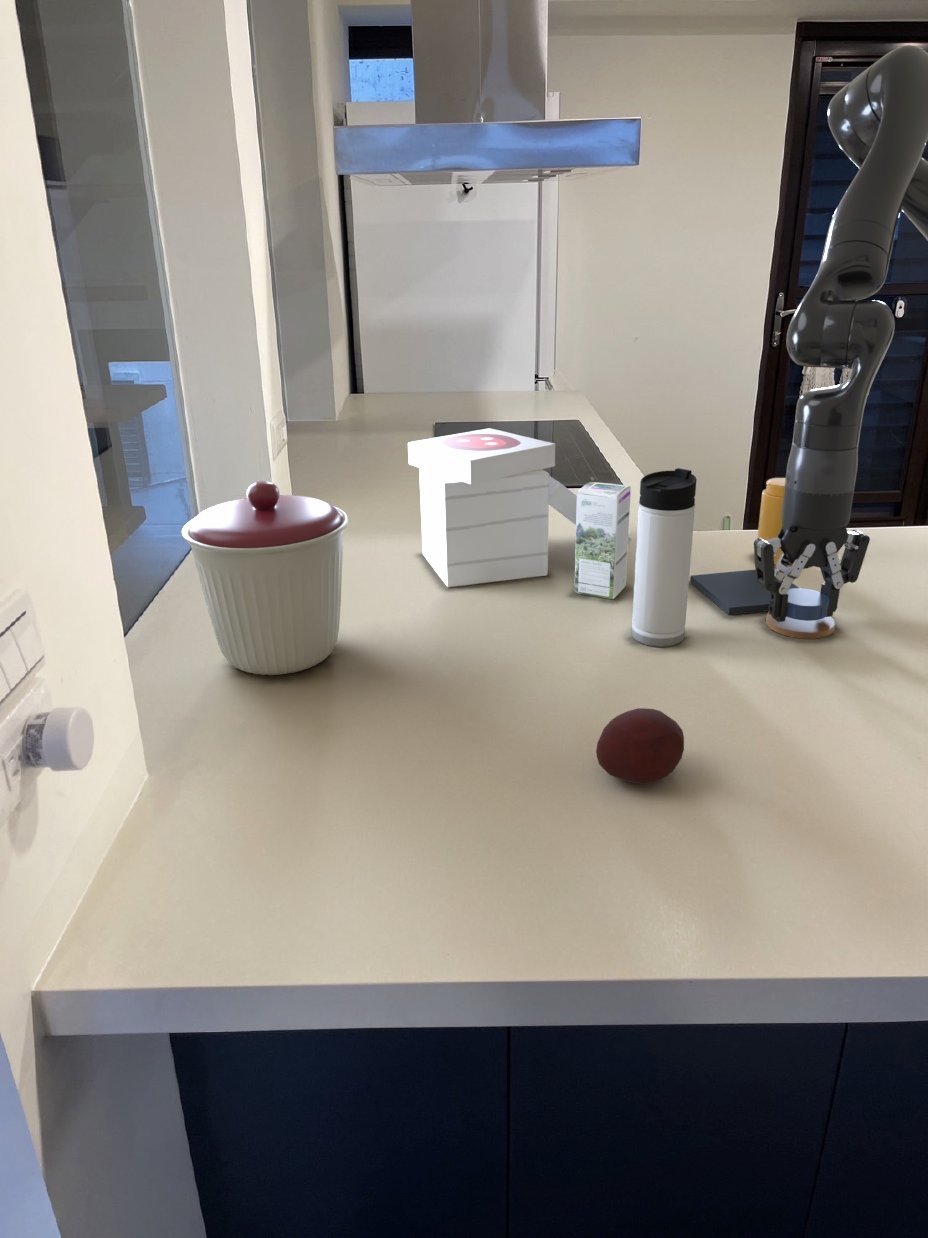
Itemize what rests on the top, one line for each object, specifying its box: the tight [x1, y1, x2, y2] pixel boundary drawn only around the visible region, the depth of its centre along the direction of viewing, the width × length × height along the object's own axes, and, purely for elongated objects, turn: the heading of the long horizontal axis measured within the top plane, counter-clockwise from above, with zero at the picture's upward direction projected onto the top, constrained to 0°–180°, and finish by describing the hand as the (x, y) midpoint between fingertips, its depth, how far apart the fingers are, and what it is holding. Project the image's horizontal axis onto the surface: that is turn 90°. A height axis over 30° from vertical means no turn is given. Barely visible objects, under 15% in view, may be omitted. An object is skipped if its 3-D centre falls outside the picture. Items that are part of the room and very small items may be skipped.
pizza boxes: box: [407, 427, 633, 588], centre depth 132 cm, size 19×30×18 cm, turn 106°
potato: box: [595, 707, 685, 785], centre depth 81 cm, size 7×8×6 cm
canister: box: [181, 480, 350, 676], centre depth 103 cm, size 18×18×21 cm
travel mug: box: [631, 467, 697, 648], centre depth 106 cm, size 6×7×20 cm
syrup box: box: [574, 481, 632, 600], centre depth 121 cm, size 6×6×14 cm
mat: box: [689, 569, 800, 616], centre depth 121 cm, size 12×12×1 cm
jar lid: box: [786, 587, 830, 621], centre depth 111 cm, size 6×6×2 cm
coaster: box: [765, 612, 836, 640], centre depth 112 cm, size 8×8×1 cm
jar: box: [756, 477, 791, 566], centre depth 132 cm, size 6×6×12 cm
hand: (801, 616), depth 111 cm, fingers closed on jar lid, 5 cm apart
